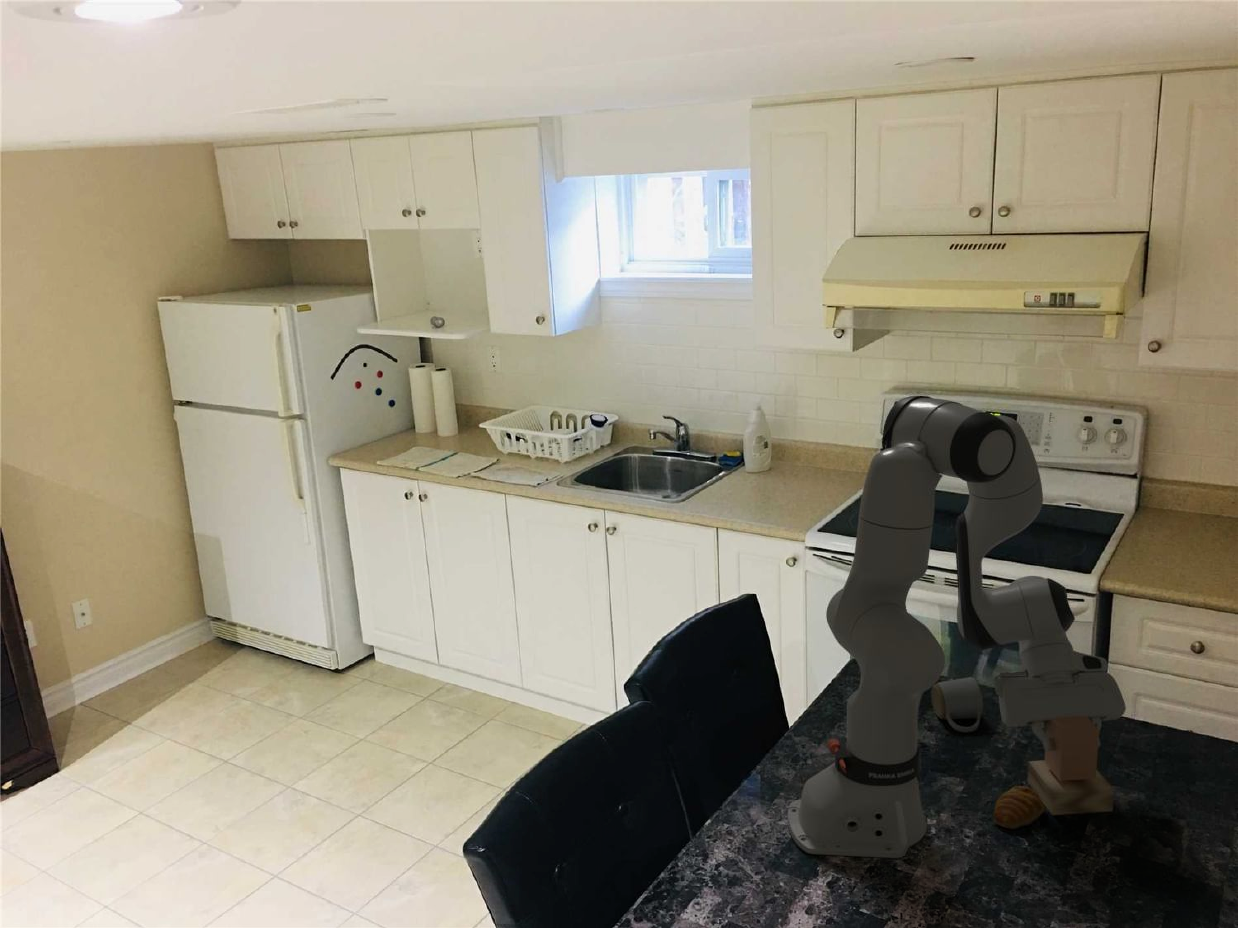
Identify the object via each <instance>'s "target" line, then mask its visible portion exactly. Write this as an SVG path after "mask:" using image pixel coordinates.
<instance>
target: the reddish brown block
mask: <svg viewBox="0 0 1238 928" xmlns="http://www.w3.org/2000/svg"><path fill="white" fill-rule="evenodd" d="M1045 728H1046V729H1045V733H1046V734H1047V735H1048V737H1049V738H1054V740H1055V744H1056V749H1055V750H1054V751H1045V750H1044V760H1045V763H1046V764H1047V765H1048V766H1049V768H1050V769H1051V770H1052V772H1053V773H1054V774H1055V775H1056V777H1057V778H1058V779H1059V780H1060V781H1066V780H1081V779H1095V778H1096V770H1097V771H1098V769H1097V768H1098V766H1097V765H1098V753H1099V752H1098V751H1099V747H1098V738H1099V735H1100V732H1099V729H1098V728H1097V727H1096V726H1095V725H1094V724H1093V723H1092V722H1091V720H1090V719H1089V718H1088V717H1087V716H1077V717H1062V718H1051V719H1050V720H1047V724H1046V727H1045ZM1099 739H1100V738H1099Z"/></svg>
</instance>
